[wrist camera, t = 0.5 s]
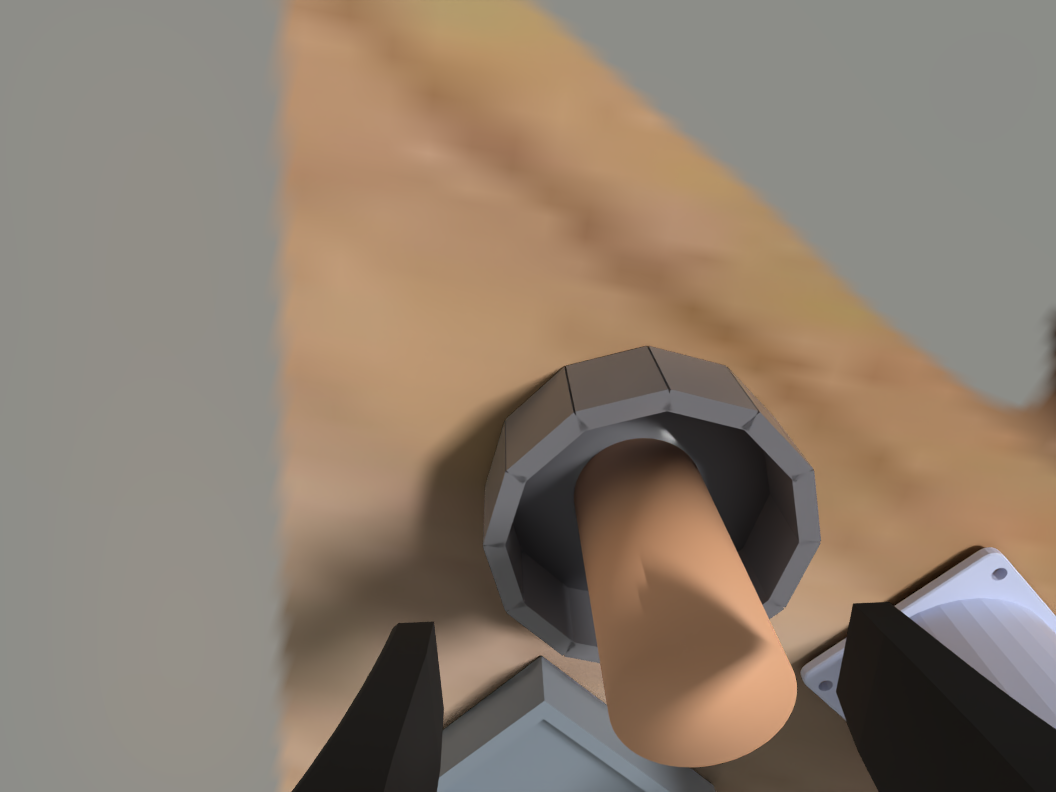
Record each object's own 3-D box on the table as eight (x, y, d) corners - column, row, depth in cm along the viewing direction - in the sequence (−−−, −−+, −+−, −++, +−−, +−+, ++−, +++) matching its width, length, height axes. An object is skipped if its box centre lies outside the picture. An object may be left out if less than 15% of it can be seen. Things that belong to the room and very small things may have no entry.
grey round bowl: (837, 484, 23) (881, 541, 21) (621, 642, 26) (635, 711, 23) (652, 287, 20) (676, 323, 18) (429, 487, 23) (419, 546, 20)
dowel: (728, 494, 23) (833, 699, 16) (631, 567, 24) (688, 792, 17) (645, 413, 21) (719, 597, 14) (547, 495, 23) (568, 704, 15)
